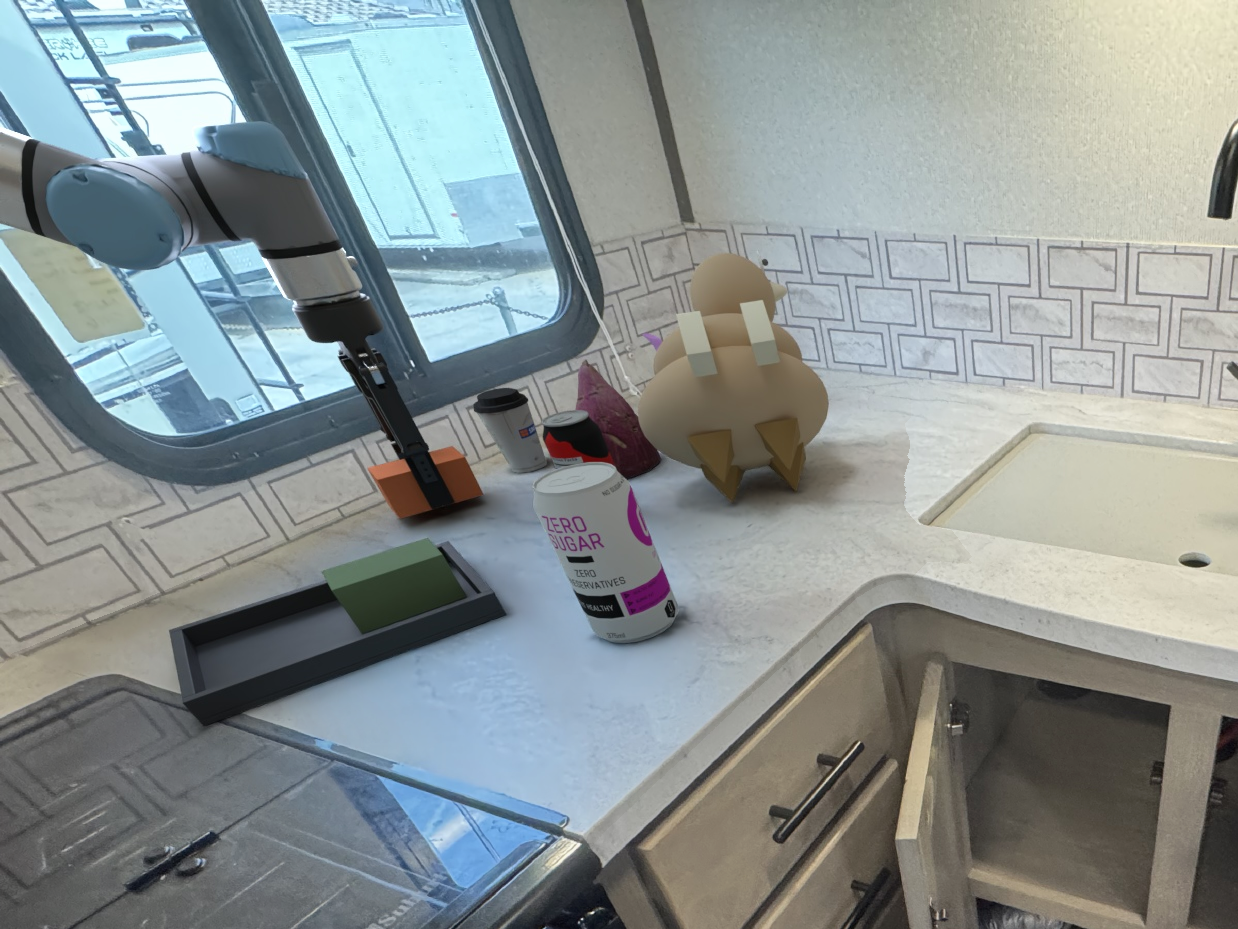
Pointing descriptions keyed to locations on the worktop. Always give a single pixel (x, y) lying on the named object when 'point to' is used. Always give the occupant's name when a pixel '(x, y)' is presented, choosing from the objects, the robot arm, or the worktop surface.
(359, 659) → the backing tray
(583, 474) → the supplement can
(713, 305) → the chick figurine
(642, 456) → the vegetable
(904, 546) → the worktop surface
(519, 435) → the coffee cup
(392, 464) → the orange block
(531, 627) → the worktop surface
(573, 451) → the beverage can
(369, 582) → the green block
